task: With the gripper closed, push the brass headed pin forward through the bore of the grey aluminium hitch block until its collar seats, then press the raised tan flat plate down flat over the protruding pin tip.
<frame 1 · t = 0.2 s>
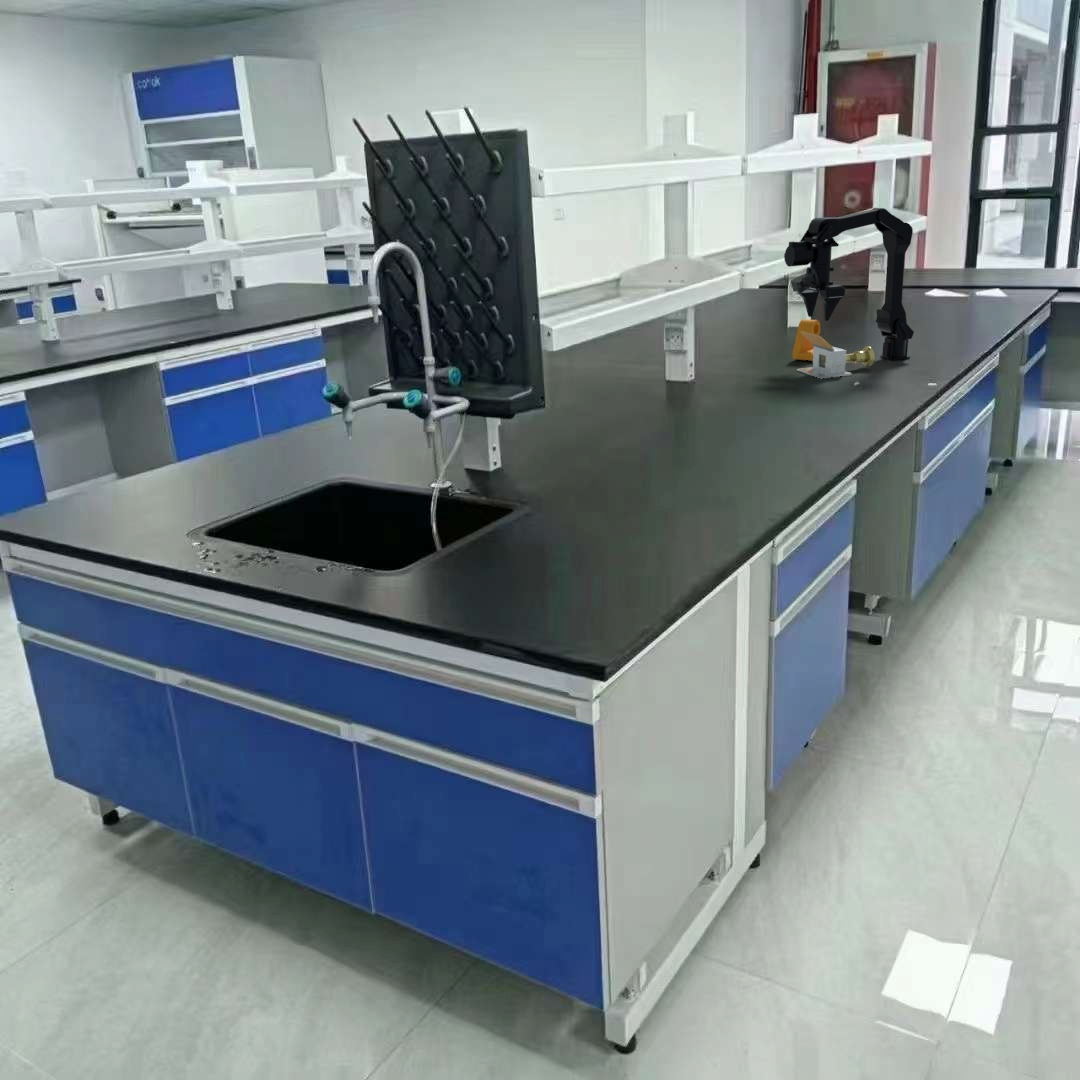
hand: (818, 318, 303), 14 cm above the worktop, fingers open, 9 cm apart
bracket: (811, 359, 320), on the worktop
hitch block: (828, 372, 300), on the worktop
tan flat plate: (816, 341, 296), point 9 cm above the worktop, hinge at 40.0°
pin: (849, 358, 301), point 3 cm above the worktop, slide at 0.0 cm
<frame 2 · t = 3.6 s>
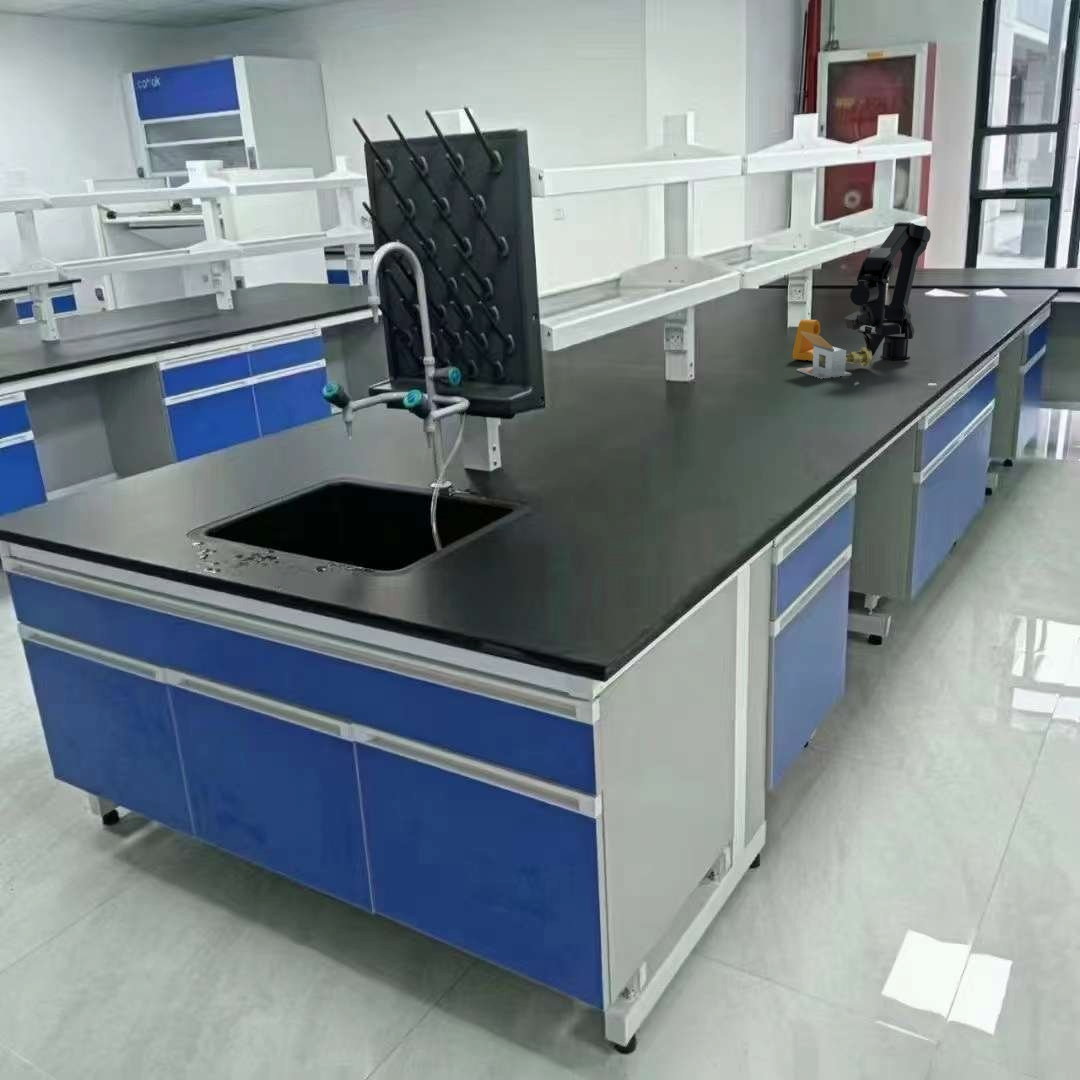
hand: (871, 355, 302), 4 cm above the worktop, fingers closed
pin: (846, 358, 300), point 3 cm above the worktop, slide at 0.9 cm, touching gripper
everything else where it was.
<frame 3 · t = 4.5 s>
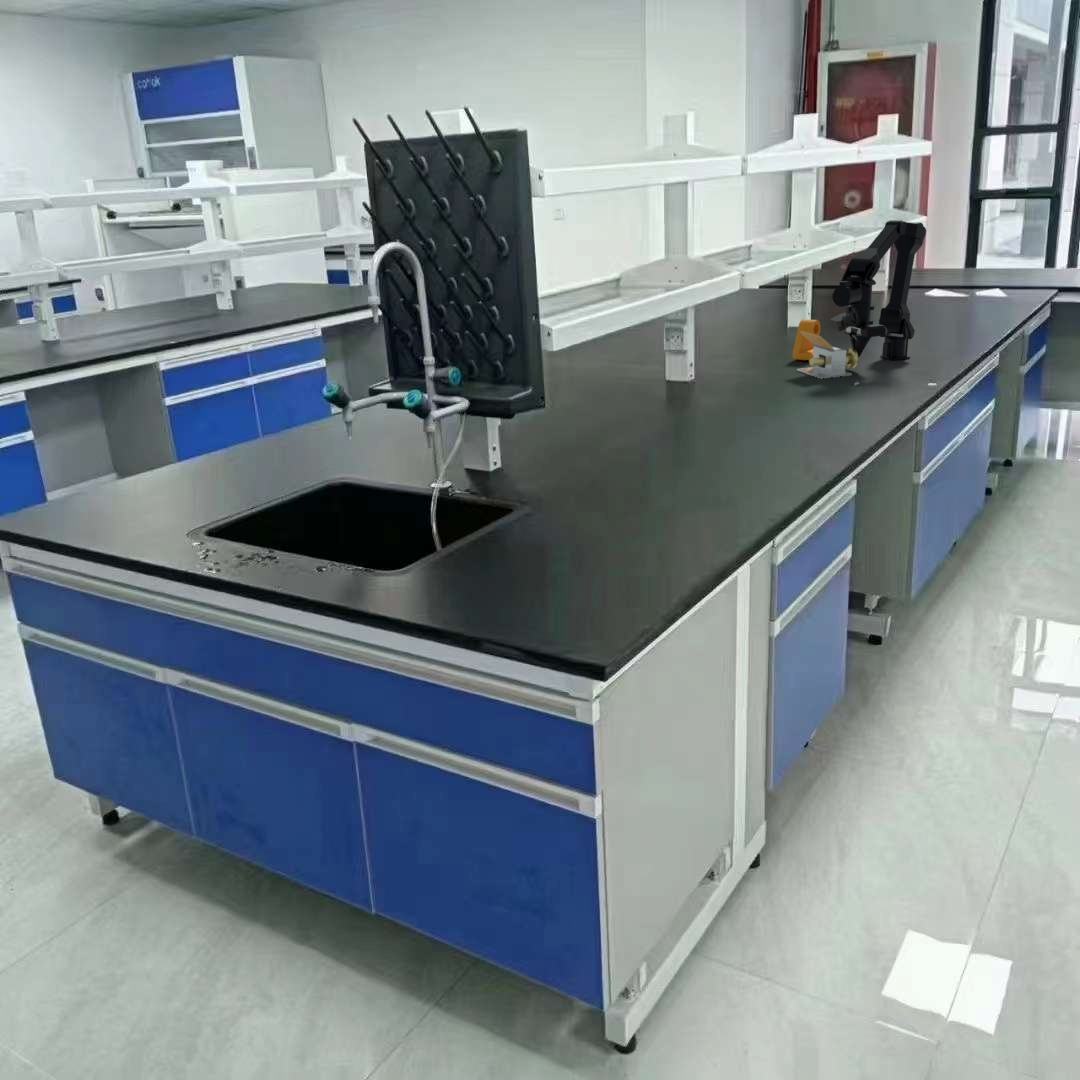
hand: (857, 357, 301), 4 cm above the worktop, fingers closed, pressing on pin
pin: (832, 360, 299), point 3 cm above the worktop, slide at 5.5 cm, touching gripper
everything else where it was.
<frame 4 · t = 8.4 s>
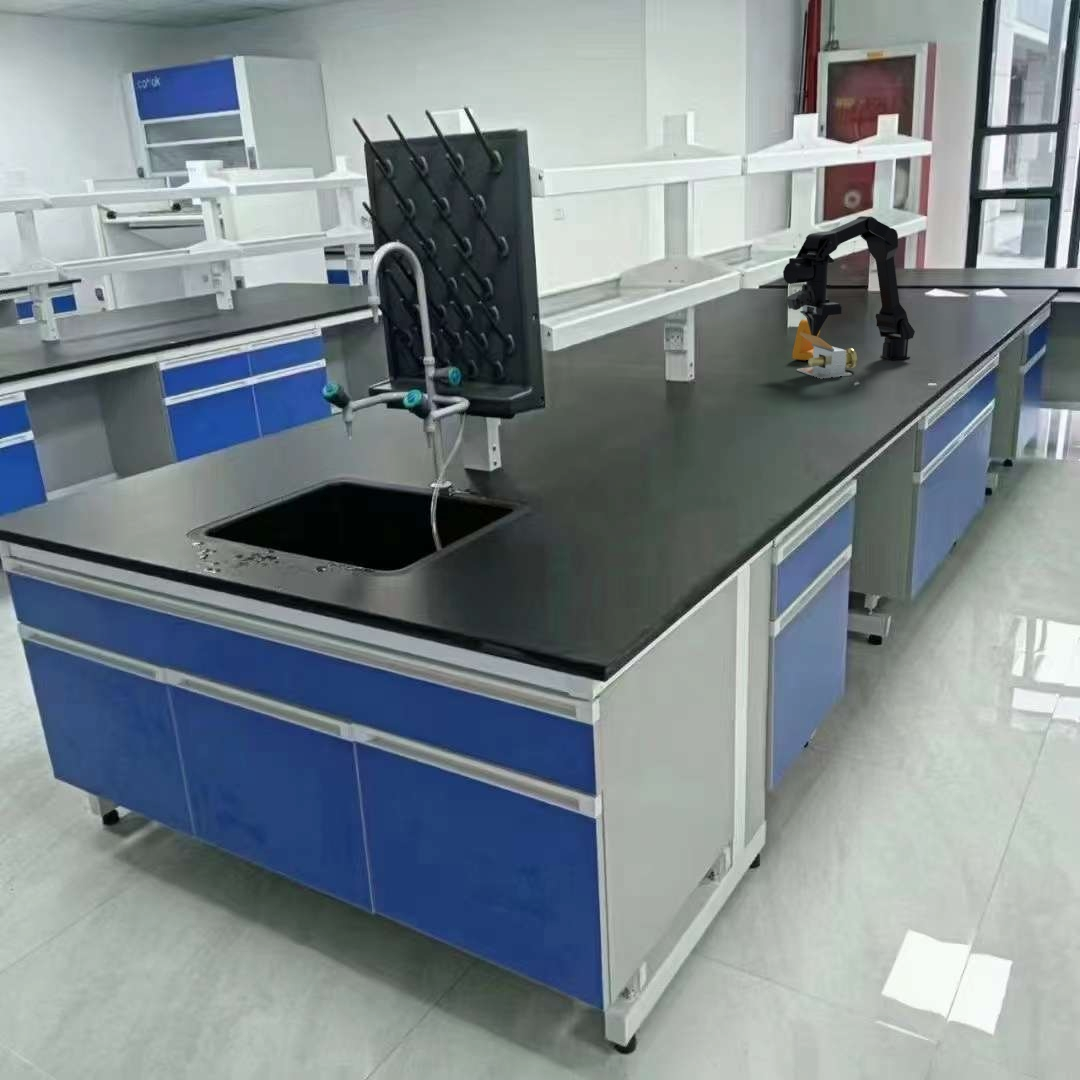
hand: (814, 336, 295), 11 cm above the worktop, fingers closed, pressing on tan flat plate
tan flat plate: (816, 342, 296), point 9 cm above the worktop, hinge at 35.3°, touching gripper
pin: (831, 360, 299), point 4 cm above the worktop, slide at 5.8 cm
everything else where it was.
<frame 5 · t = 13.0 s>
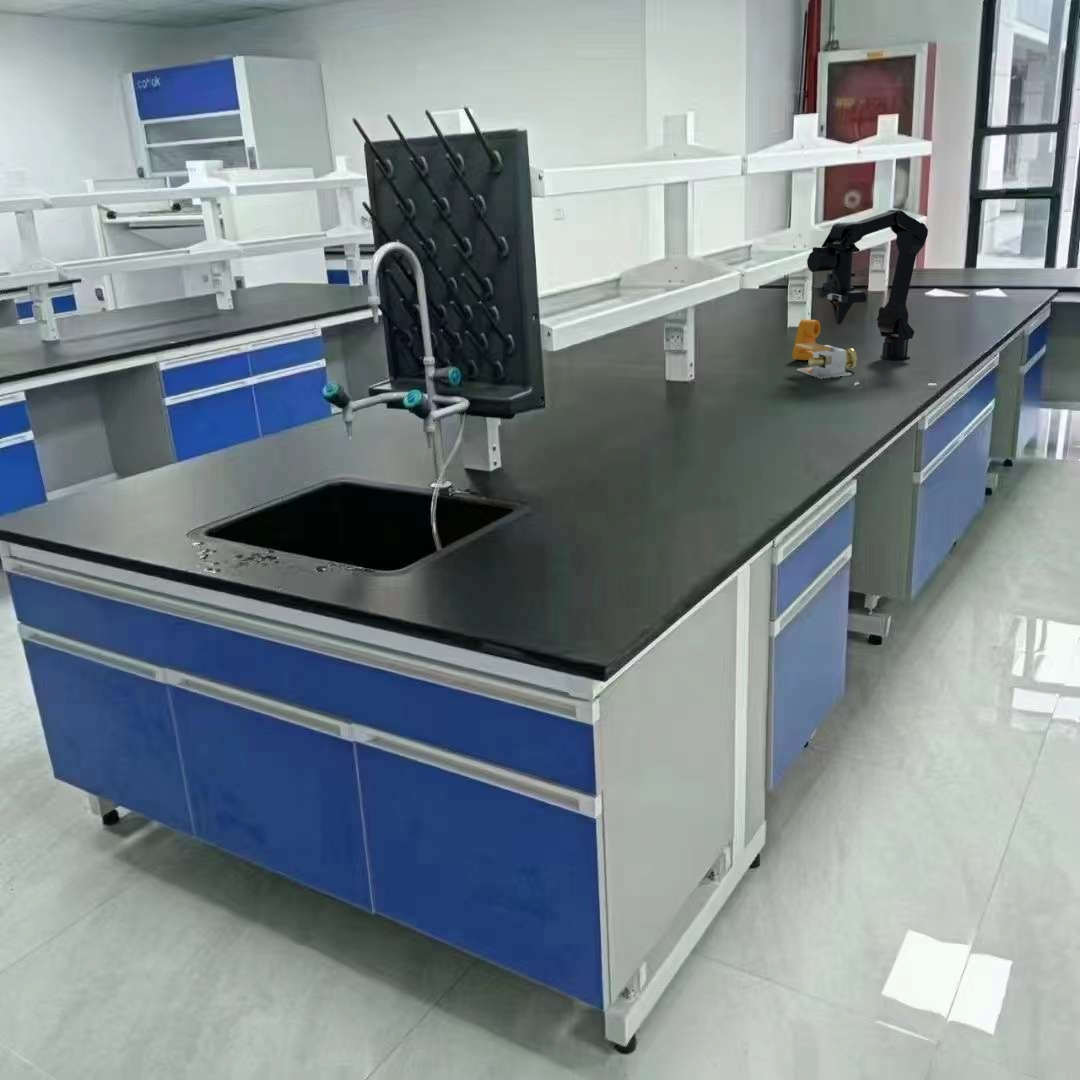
hand: (838, 324, 303), 13 cm above the worktop, fingers closed
tan flat plate: (814, 347, 296), point 8 cm above the worktop, hinge at -0.1°
everything else where it was.
at the end: pin slide at 5.8 cm; tan flat plate at +0° (first picture: +40°) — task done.
